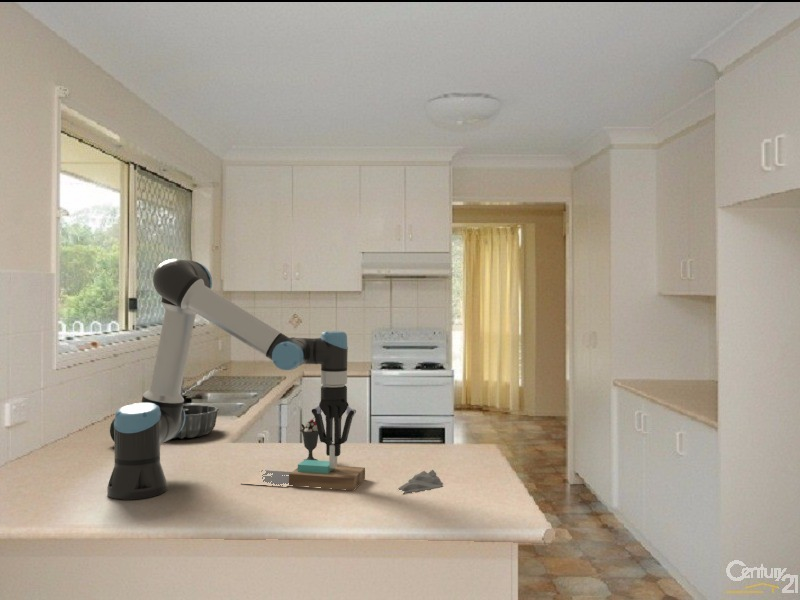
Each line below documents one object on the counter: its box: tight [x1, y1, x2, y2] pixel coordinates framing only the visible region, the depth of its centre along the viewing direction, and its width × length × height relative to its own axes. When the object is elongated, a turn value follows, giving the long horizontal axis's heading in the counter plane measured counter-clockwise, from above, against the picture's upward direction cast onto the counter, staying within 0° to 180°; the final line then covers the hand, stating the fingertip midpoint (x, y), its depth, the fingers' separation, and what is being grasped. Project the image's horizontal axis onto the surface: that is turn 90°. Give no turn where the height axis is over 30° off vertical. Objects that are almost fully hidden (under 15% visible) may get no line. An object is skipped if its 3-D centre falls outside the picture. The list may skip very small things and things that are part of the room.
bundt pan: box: [171, 404, 219, 440], centre depth 259 cm, size 26×26×10 cm
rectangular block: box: [297, 459, 334, 474], centre depth 196 cm, size 6×9×2 cm, turn 77°
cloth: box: [397, 469, 444, 495], centre depth 196 cm, size 26×14×2 cm, turn 146°
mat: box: [260, 469, 292, 486], centre depth 199 cm, size 15×14×1 cm
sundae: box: [299, 416, 319, 460], centre depth 221 cm, size 7×7×15 cm
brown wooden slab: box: [289, 465, 366, 491], centre depth 196 cm, size 12×19×4 cm, turn 78°
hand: (333, 466), depth 195 cm, fingers closed
